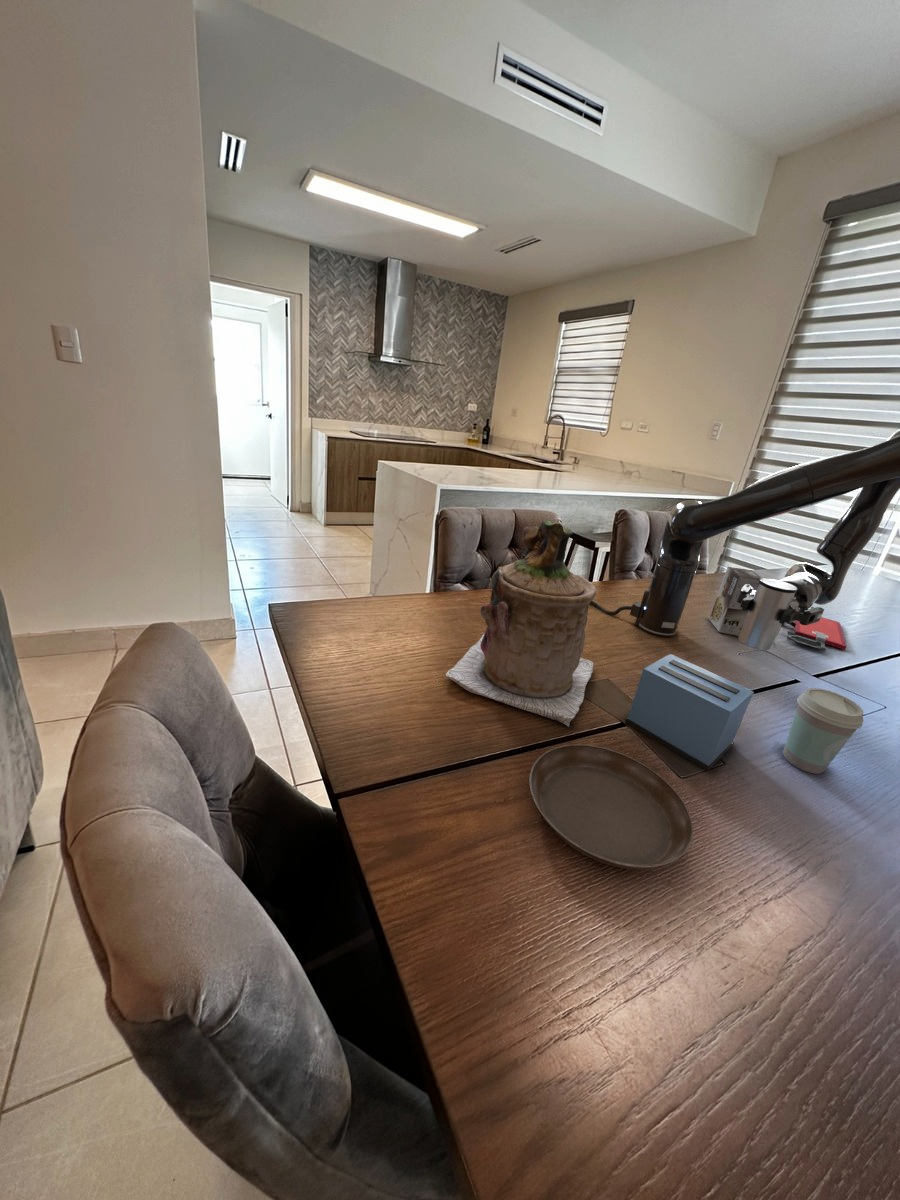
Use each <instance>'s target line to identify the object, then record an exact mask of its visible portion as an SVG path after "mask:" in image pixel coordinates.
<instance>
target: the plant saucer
mask: <svg viewBox="0 0 900 1200" xmlns="http://www.w3.org/2000/svg"><path fill="white" fill-rule="evenodd" d="M529 789H530V793H531V797H532V799H533V802H534V804H535V807H536V809H537V810H538V812H539V814H540V815H541V817H542V818H543V820H544V821H545V823H546V824H547V825H548V827H549V828H550V829H551V830H552V831H553V832H554V833H555V835H557V836H558V837H559V838H560V839H561V840H562V841H563V842H564V843H566V845H568V846H569V847H571V848H572V849H574V850H575V851H576V852H578V853H580V854H582V855H583V856H585V857H587V858H589V859H591V860H594V861H596V862H599V863H600V864H604V865H607V866H611V867H615V868H618V869H619V868H620V869H626V870H650V869H656V868H660V867H664V866H667V865H669V864H671V863H673V862H675V861H677V860H679V859H680V858H681V857H683V856H684V855H685V854H686V853H687V851H688V850H689V849H690V847H691V844H692V842H693V838H694V823H693V819H692V816H691V813H690V811H689V808H688V807H687V805H686V803H685V802H684V800H683V799H682V796H680V794H679V793H678V792H677V791H676V790H675V788H674V787H673V786H672V785H671V784H670V783H669V782H668V781H667V780H666V779H664V777H663V776H661V775H660V774H659V773H657V772H656V771H654V770H653V769H652V768H650V767H649V766H647V765H645V764H644V763H642V762H641V761H639V760H637V759H635V758H633V757H631V756H629V755H626V754H624V753H622V752H619V751H617V750H614V749H610V748H606V747H602V746H598V745H592V744H583V743H581V744H565V745H560V746H556V747H553V748H551V749H549V750H547V751H545V752H543V753H542V754H541V755H540V756H539V757H538V758H537V759H536V760H535V762H534V763H533V764H532V767H531V770H530V773H529Z"/></svg>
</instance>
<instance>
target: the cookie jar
mask: <svg viewBox="0 0 900 1200" xmlns="http://www.w3.org/2000/svg"><path fill="white" fill-rule="evenodd" d="M573 534H574V533H573V530H571V529H570V528H568V527H566V526H564V525H563V523H561V522H558V521H557V522H553V521H550V520H547V519H543V520H541V524H540V525H538V526H525V527H524V528H523V530H522V531H521V543H522V544H523V545H524V546H525V547H526V548H527V549H526V550H525V551H524V552H522V553H521V555H520V557H521V558H520V559H517V560H515V561H514V562H512V563H509V564H507V565H506V564H505V565H502V566H498V567H497V569H496V571H494V573H493V574H492V576H491V580H490V586H491V593H490V598H489V599H490V601H489V604H488V603H486V604H482V605H481V606H480V610H479V613H480V615H481V617H482V619H484V622H485V624H486V625H485V626H486V628H485V632H484V633H483V634H482V636H481V637H480V639H478V641H477V642H476V643H475V644H474V645H472V646H471V647H469V649H468V651H466V653H464V655H463V656H462V657H461V658H460V659H459V660H458V661H457V663H456V664H455V665H454V666H453V667H451V668H450V669H448V671H446V673H445V677H446V678H447V679H449V680H451V681H453V682H455V683H456V684H457V685H458V686H460V687H461V688H462V689H464V690H466V691H467V692H469V693H471V694H475V695H479V696H482V697H485V698H488V699H491V700H494V701H496V702H500V703H502V704H505V705H509V706H511V707H515V708H518V709H520V710H524V711H527V712H529V713H533V714H536V715H538V716H542V717H545V718H548V719H551V720H554V721H558V722H559V723H561V724H562V725H563V724H564V725H565V726H567V727H570V724H571V723H570V722H571V721H572V720H573V719H575V717H576V715H577V714H578V713H579V712H580V706H581V705H582V704H583V702H584V698H585V691H586V686H587V684H588V682H589V681H590V680H591V677H592V674H593V673H594V662H593V661H591V660H589V659H586V658H583V657H582V655H583V653H584V647H585V640H586V627H587V624H588V615H589V606H590V602H591V601H594V599H595V597H596V596H597V591H598V590H597V588H596V586H595V585H594V584H593V583H592V582H590V580H588V579H587V578H585V577H584V576H580V575H578V574H575V573H574V572H572V571H570V570H569V568H568V567H567V566H566V563H565V558H566V551H567V548H568V547H567V546H568V542H569V540H570V537H571V535H573Z"/></svg>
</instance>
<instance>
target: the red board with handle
mask: <svg viewBox="0 0 900 1200" xmlns="http://www.w3.org/2000/svg"><path fill="white" fill-rule="evenodd" d="M799 622H800V621H797V620H795V622H791V623H787V624H788V625H789V626H791V627H793V628H794V632H793V631H787V637H786V639H787V640H791V641H793V642H796V643H799V644H803V645H806V646H809V647H812V648H816V649H819V650H822V651H825V652H826V651H827V650H826V645H828V646H832V647H835V648H839V649H841V650H844V651H845V650H846V649H847V647H848V646H847V643H846V639H845V636H844V633H843V629H842V626H841V622H840V621H836V620H833V619H830V618H826V617H822V616H821V618H820V620H819V622H816V623H813V624H809V625H802V624H800V623H799ZM783 626H784V625H783V624H782V625H781V627H783Z"/></svg>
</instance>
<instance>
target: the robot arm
mask: <svg viewBox="0 0 900 1200" xmlns="http://www.w3.org/2000/svg"><path fill="white" fill-rule="evenodd" d="M899 490H900V429H898V430H897V431H895V432H893V434H891V436H890V437H888V439H887V440H884V441H881V442H879V443H877V444H874V445H871V446H868V447H865V448H863V449H859V450H855V451H851V452H845V453H840V454H837V455H832V456H827V457H823V458H819V459H814V460H811V461H807V462H804V463H801V464H798V465H795V466H792V467H789V468H786V469H783V470H779V471H777V472H775V473H772V474H769V475H768V476H766V477H763V478H761V479H759V480H757V481H756V482H754V483H752V484H750V485H749V486H747V487H745V488H743V489H742V490H739V491H737V492H735V493H733V494H731V495H726V496H724V497H721V498H717V499H713V500H709V501H704V502H701V501H698V500H695V499H688V500H683V501H681V502H679V503H677V504H676V505H675V506H674V507H673V508H672V509H671V511H670V512H669V515H668V517H667V520H666V523H665V526H664V529H663V534H662V538H661V542H660V545H659V549H658V555H657V559H656V563H655V566H654V570H653V573H652V576H651V578H650V579H651V580H650V583H649V586H648V589H646V590H644V592H643V594H642V598H641V601H637V602H634V603H633V604H632V605H624V606H620V607H619V606H618V608H617V609H616V610H614V611H611V610H606V609H605V608H603V607H602V606H601V605H600V604H599V603H597V602H596V601H594V600H592V601H591V602H590V603H589V605H592V606H594V607H595V608H596V609H598V610H599V611H601V612H602V613H605V614H606V615H610V616H616V615H618V614H619V613H620V612H621V611H626V610H628V611H630V612H629V616H632V617H634V618H636V619H635V622H634V624H635V625H637V626H638V627H639V628H640V629H642V630H643V631H645V632H648V633H650V634H652V635H656V636H661V637H674V636H675V635H676V634H677V631H678V628H679V624H680V621H681V619H682V615H683V613H684V609H685V607H686V604H687V600H688V598H689V594H690V591H691V589H692V585H693V582H694V579H695V576H696V573H697V570H698V567H699V565H700V556H701V551H702V547H703V543H704V541H705V540H708V539H711V538H713V537H715V536H718V535H720V534H723V533H725V532H728V531H730V530H733V529H735V528H738V527H740V526H741V527H742V526H744V525H747V524H751V523H755V522H759V521H764V520H767V519H771V518H774V517H778V516H781V515H785V514H788V513H792V512H796V511H800V510H802V509H806V508H810V507H812V506H815V505H818V504H821V503H824V502H827V501H830V500H833V499H836V498H838V497H840V496H841V497H842V496H844V495H846V494H849V493H852V492H855V491H857V492H856V494H855V495H854V497H853V498H852V500H851V501H850V503H849V504H848V505H847V507H846V508H845V509H844V511H843V513H841V515H840V516H839V518H838V519H836V520H837V521H836V522H835V523H834V524H833V525H832V527H831V528H830V530H829V531H828V532H827V534H826V535H824V537H823V538H822V540H821V541H820V542H819V544H818V545H817V547H816V552H817V554H818V555H819V556H821V557H822V558H823V559H825V560H827V561H828V562H829V563H830V564H831V566H832V570H831V572H829V571H826V570H825V569H822V568H820V567H818V566H816V565H813V564H811V563H808V562H797V563H795V564H793V565H791V566H790V567H789V569H787V571H786V573H785V575H784V577H783V578H781V579H778V580H779V581H783V582H786V583H789V584H791V585H793V586H795V587H797V592H796V593H795V595H794V597H793V599H792V602H791V604H790V606H789V609H788V610H786V611H785V612H784V613H783V615H782V617H781V619H780V622H779V623H781V624H783V626H784V625H786V624H788V623H791V622H795V620H797V621H800V622H799V623H800V624H802V625H809V624H813V623H816V622H819V620H820V618H821V617H822V616H823V614H824V612H825V608H823V607H821V606H823V605H827V604H830V603H832V602H833V601H834V600H836V598H837V597H838V596H839V594H840V592H841V589H842V587H843V584H844V581H845V578H846V576H847V573H848V572H849V569H850V567H851V565H852V564H853V563H854V561H855V560H856V558H857V557H858V556H859V555H860V553H861V552H862V551H863V549H864V548H865V547H866V546H867V545H868V544H869V542H870V541H871V539H872V538H873V537H874V536H875V534H876V532H877V530H878V529H879V527H880V525H881V523H882V521H883V519H884V517H885V514H886V512H887V509H888V507H889V506H890V504H891V502H892V500H893V499H894V497H895V496H896V495H897V493H898V492H899ZM755 593H756V591H754V590H753V588H751V586H750V585H744V586H743V588H742V589H741V591H740V594H739V596H738V599H737V602H738V603H740V604H741V605H740V607H742V610H743V611H748V610H749V609H750V606H751V604H752V601H753V599H754V596H755ZM814 604H816V605H820V607H819V606H816V607H814V606H813V605H814Z"/></svg>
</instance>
